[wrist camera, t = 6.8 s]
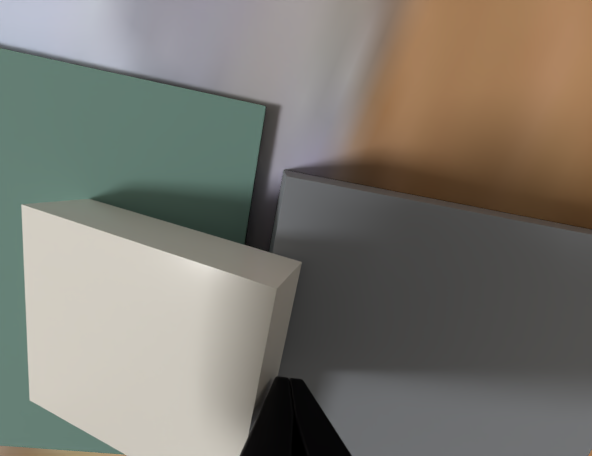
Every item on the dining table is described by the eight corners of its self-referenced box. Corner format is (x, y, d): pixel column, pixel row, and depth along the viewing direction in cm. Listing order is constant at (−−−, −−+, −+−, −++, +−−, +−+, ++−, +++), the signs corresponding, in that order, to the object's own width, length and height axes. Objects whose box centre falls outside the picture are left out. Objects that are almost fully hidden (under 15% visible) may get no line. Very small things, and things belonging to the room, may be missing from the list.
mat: (212, 451, 14) (210, 460, 14) (-116, 427, 12) (-129, 436, 12) (266, 108, 10) (265, 105, 10) (-201, 5, 8) (-224, -1, 8)
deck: (501, 444, 15) (554, 513, 12) (238, 421, 14) (228, 494, 11) (602, 231, 12) (703, 256, 9) (283, 169, 11) (286, 176, 8)
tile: (262, 449, 10) (232, 515, 8) (86, 364, 12) (29, 400, 10) (302, 262, 8) (276, 288, 6) (89, 198, 10) (21, 204, 8)
